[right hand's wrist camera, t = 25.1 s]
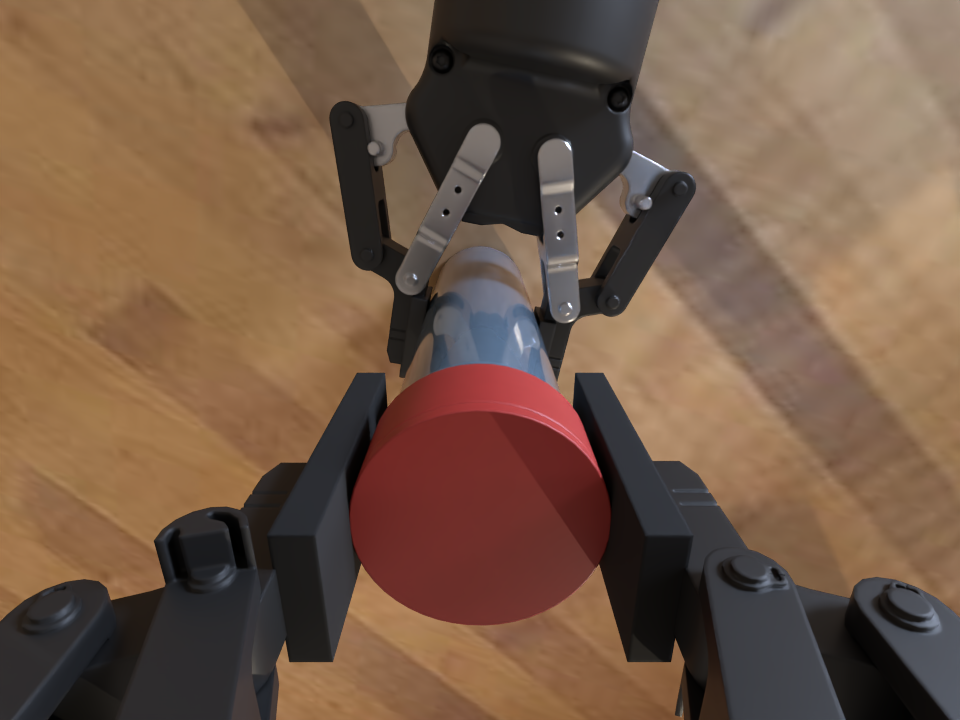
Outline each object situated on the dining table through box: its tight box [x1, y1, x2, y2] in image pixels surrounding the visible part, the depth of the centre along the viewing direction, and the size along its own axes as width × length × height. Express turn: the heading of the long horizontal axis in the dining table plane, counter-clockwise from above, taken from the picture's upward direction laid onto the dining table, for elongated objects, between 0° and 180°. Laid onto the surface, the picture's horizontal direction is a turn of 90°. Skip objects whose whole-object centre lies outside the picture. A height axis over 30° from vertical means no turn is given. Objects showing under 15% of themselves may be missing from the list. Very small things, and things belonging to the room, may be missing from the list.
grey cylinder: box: [400, 246, 561, 394], centre depth 20 cm, size 5×5×18 cm
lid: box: [349, 364, 611, 625], centre depth 12 cm, size 5×5×2 cm
